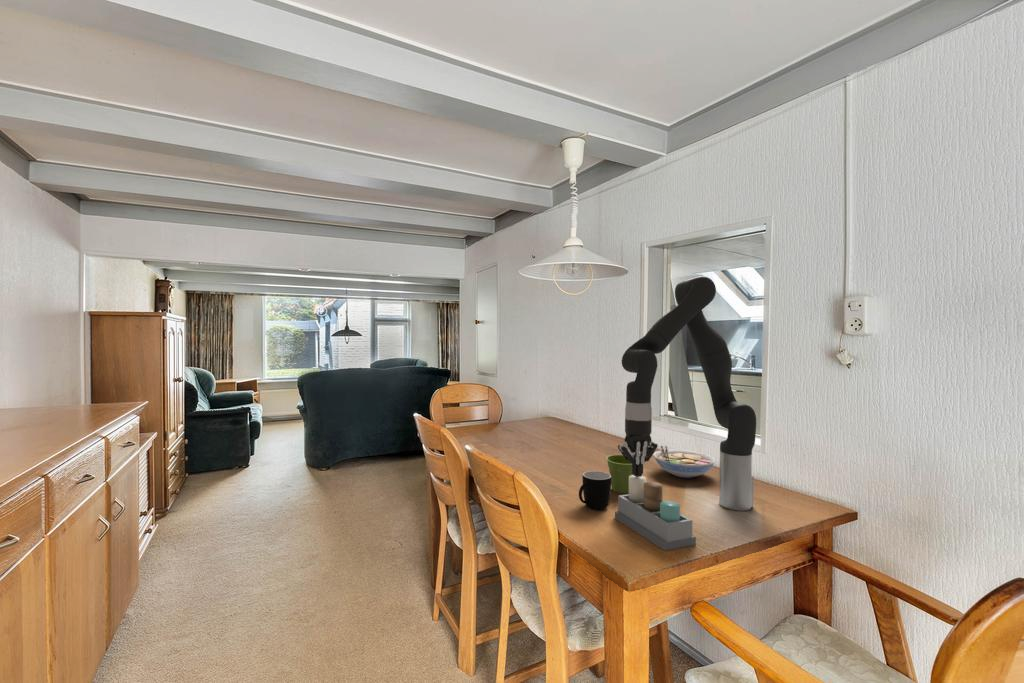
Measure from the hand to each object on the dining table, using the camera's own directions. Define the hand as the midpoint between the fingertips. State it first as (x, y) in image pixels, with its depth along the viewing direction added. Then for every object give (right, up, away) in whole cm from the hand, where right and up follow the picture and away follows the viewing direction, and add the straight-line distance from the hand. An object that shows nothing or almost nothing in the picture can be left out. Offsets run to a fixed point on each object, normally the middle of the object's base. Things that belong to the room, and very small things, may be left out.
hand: (637, 476), depth 132 cm
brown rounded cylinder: (+2, -7, -7) cm, 10 cm away
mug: (-11, -13, +10) cm, 20 cm away
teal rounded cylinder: (+5, -10, -13) cm, 17 cm away
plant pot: (+2, -13, +26) cm, 29 cm away
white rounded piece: (0, -7, 0) cm, 7 cm away
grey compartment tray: (+2, -13, -6) cm, 15 cm away
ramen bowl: (+30, -13, +44) cm, 55 cm away
